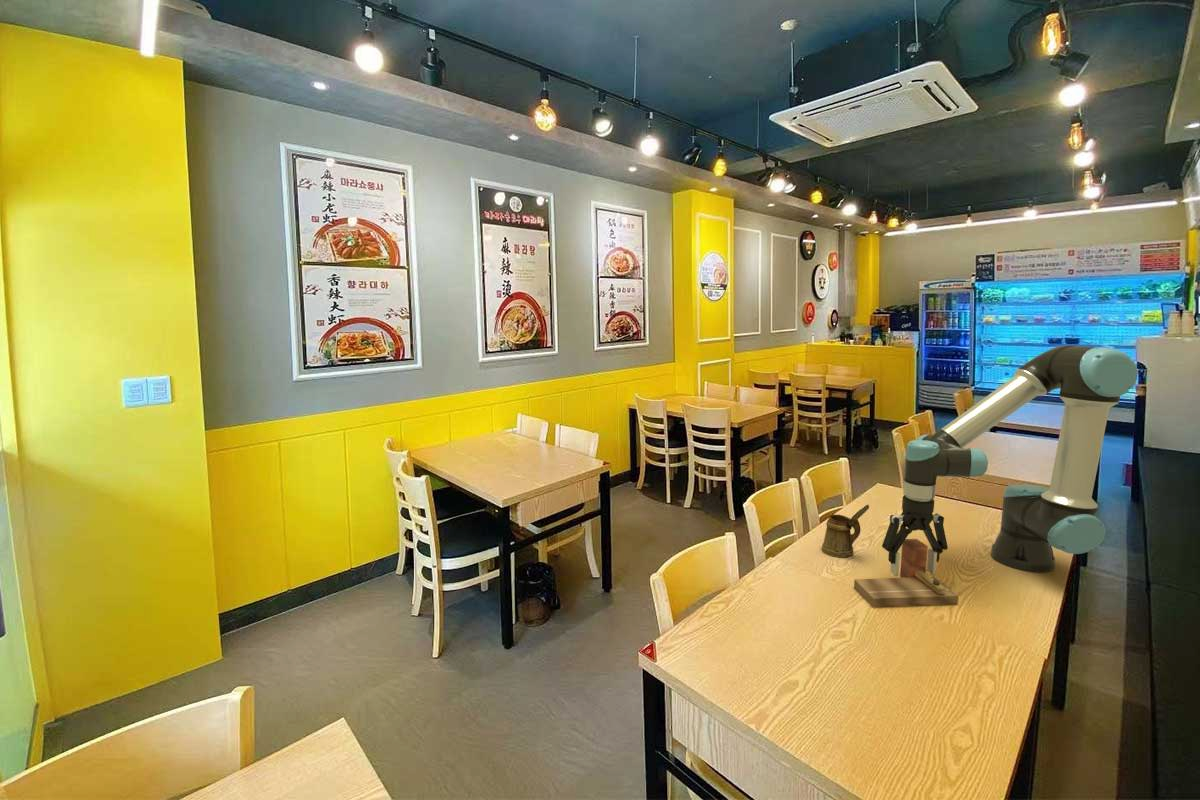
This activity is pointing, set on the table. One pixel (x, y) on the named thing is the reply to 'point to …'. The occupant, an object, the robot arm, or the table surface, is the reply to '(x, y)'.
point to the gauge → (917, 564)
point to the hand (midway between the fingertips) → (912, 573)
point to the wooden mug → (842, 534)
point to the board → (902, 592)
